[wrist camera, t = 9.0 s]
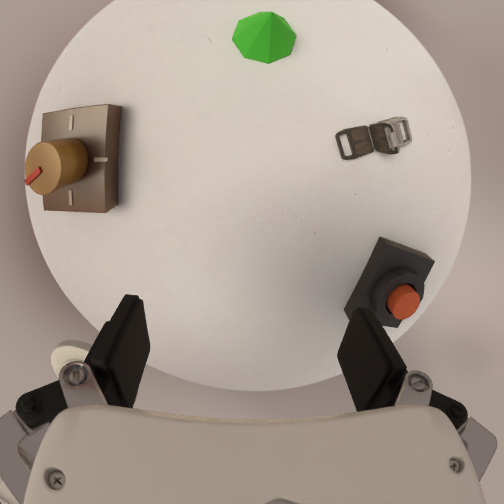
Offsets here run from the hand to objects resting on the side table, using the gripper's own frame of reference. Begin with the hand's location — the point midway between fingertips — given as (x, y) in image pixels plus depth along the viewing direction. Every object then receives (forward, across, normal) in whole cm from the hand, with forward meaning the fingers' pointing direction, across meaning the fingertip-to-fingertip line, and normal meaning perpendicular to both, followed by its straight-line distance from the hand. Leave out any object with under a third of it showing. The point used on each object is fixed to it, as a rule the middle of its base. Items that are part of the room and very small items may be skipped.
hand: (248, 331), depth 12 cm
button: (+13, -18, +7) cm, 23 cm away
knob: (+13, +17, -6) cm, 22 cm away
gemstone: (+17, 0, -18) cm, 25 cm away
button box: (+16, -18, +7) cm, 25 cm away
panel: (+16, +17, -6) cm, 24 cm away
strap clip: (+17, -12, -10) cm, 23 cm away
